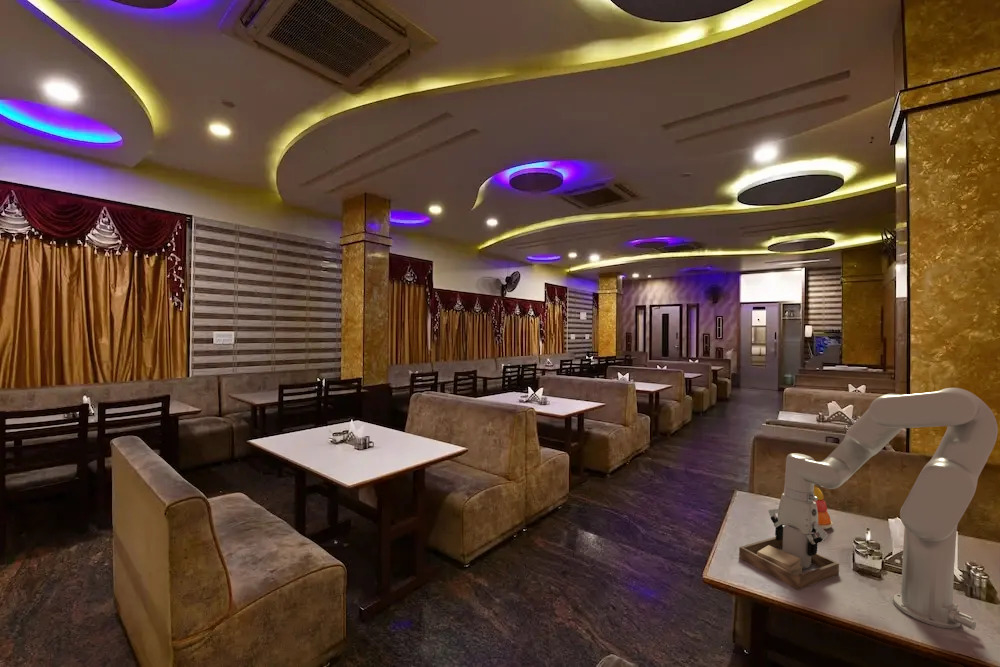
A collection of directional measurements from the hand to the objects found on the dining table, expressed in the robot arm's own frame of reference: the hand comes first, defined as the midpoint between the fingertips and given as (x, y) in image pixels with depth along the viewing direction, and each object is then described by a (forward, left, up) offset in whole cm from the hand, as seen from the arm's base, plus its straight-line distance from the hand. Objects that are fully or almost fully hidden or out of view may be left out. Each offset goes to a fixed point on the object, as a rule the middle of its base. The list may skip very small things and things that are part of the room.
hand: (795, 546), depth 134 cm
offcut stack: (0, +9, -5) cm, 10 cm away
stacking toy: (+16, -36, -5) cm, 39 cm away
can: (0, 0, -5) cm, 5 cm away
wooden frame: (0, +4, -5) cm, 7 cm away
